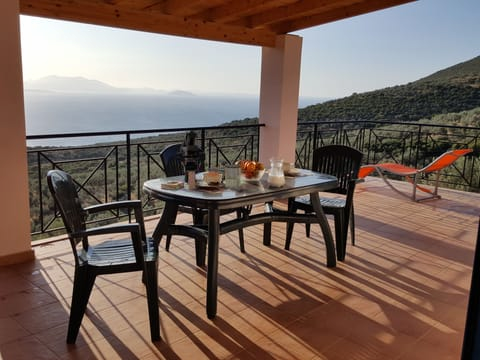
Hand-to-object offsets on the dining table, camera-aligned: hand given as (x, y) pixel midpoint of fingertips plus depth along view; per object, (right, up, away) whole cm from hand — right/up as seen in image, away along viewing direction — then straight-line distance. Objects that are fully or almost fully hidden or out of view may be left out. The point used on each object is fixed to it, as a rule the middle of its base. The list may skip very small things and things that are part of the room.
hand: (191, 167), depth 286 cm
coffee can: (+27, -13, +4) cm, 30 cm away
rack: (-12, -13, -2) cm, 18 cm away
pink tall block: (0, -14, -3) cm, 14 cm away
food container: (+16, -10, +17) cm, 25 cm away
